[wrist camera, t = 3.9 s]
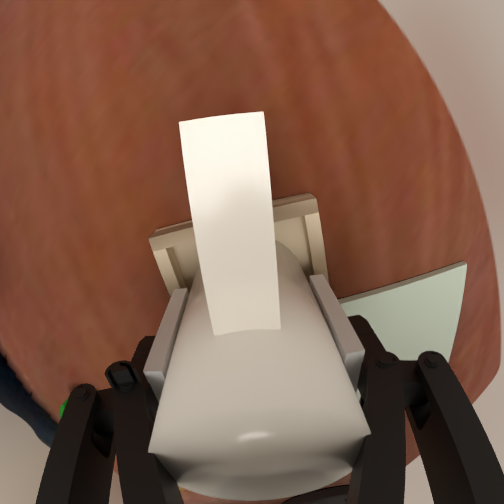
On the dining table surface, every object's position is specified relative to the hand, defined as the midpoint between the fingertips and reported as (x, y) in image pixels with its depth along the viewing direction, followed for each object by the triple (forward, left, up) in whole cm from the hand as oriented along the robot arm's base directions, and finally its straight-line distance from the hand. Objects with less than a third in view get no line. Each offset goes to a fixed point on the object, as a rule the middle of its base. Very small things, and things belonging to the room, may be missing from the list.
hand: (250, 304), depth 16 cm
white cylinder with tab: (+3, 0, -2) cm, 4 cm away
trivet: (-10, -10, -3) cm, 14 cm away
